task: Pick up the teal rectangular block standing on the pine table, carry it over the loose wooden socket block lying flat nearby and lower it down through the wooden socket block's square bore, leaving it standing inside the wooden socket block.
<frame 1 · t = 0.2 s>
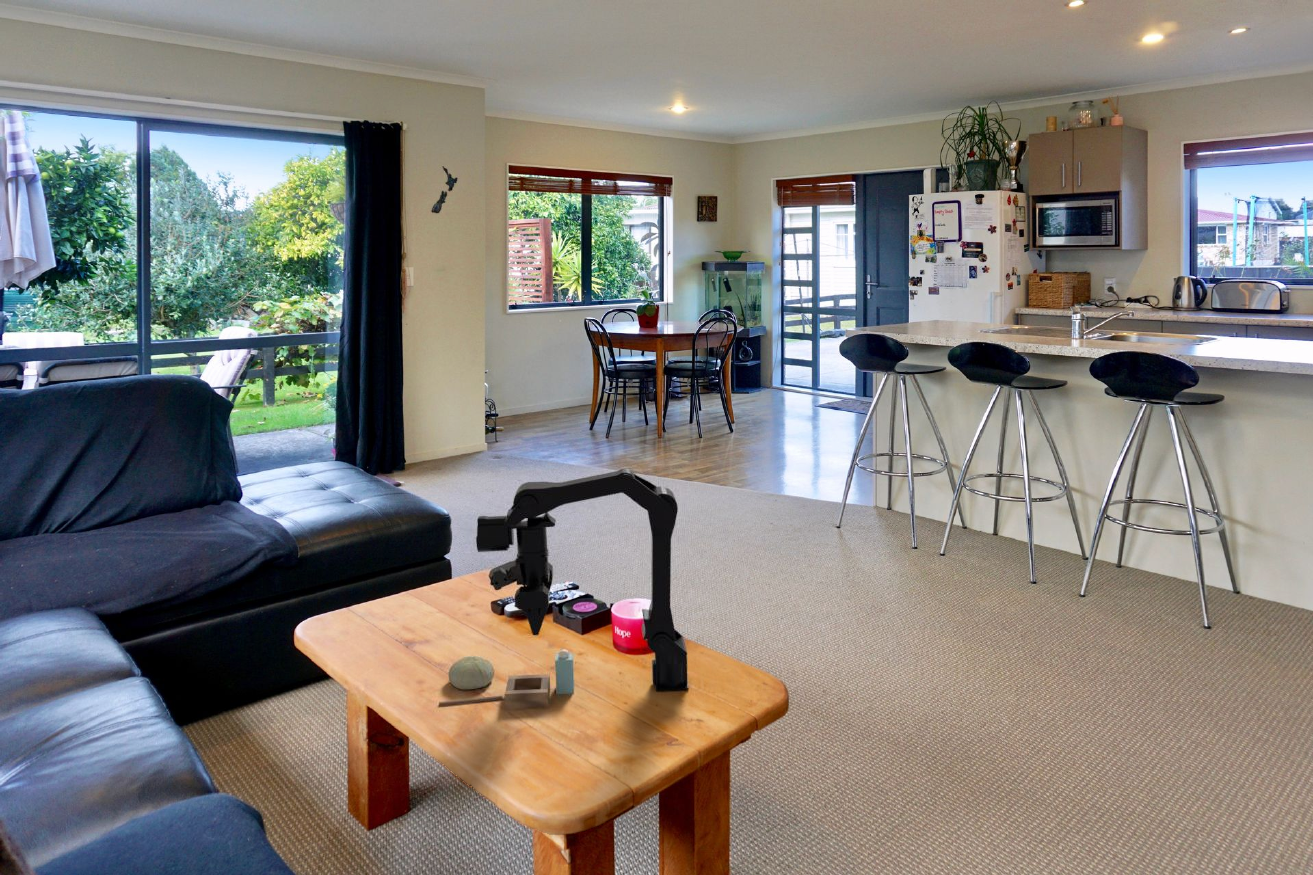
hand: (537, 625, 183), 13 cm above the table, fingers open, 9 cm apart
brown wooden rod: (471, 701, 181), on the table
sea urchin shell: (472, 683, 190), on the table
teal rectangular block: (565, 689, 185), on the table
wooden socket block: (528, 699, 181), on the table
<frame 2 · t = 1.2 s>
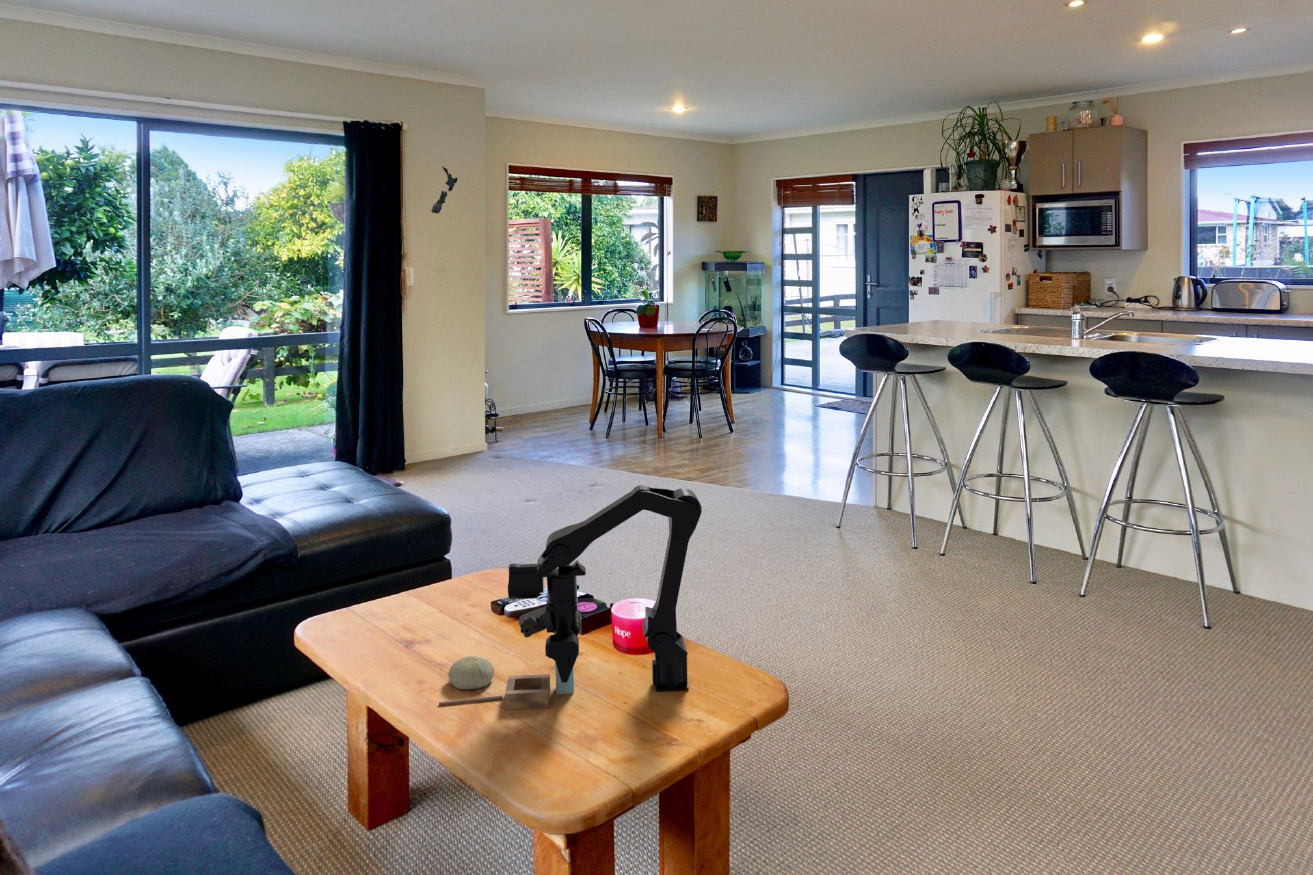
hand: (565, 672, 185), 4 cm above the table, fingers open, 9 cm apart
nothing on the table moved.
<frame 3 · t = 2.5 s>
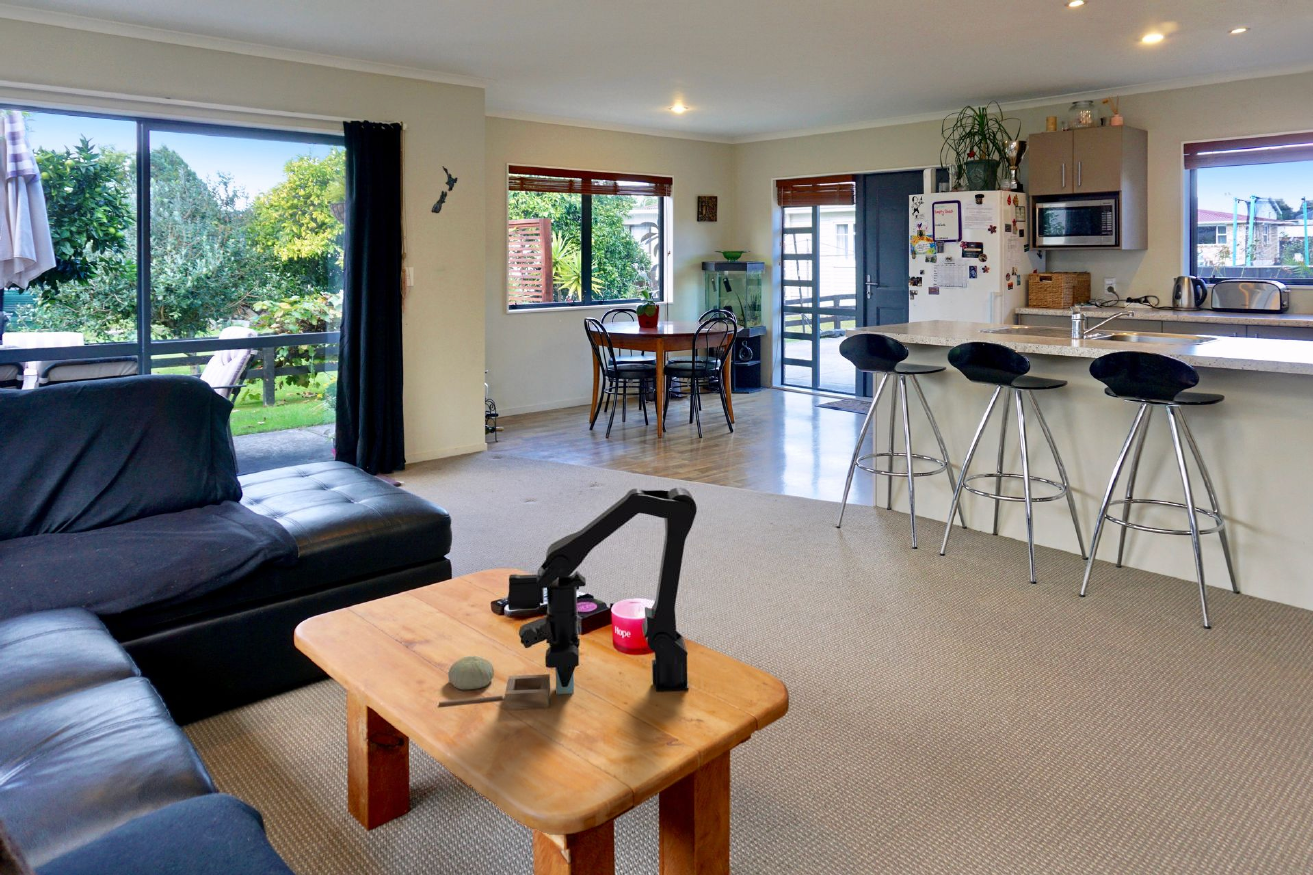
hand: (565, 682, 185), 2 cm above the table, fingers closed on teal rectangular block, 3 cm apart
teal rectangular block: (565, 689, 185), on the table, touching gripper
everything else where it was.
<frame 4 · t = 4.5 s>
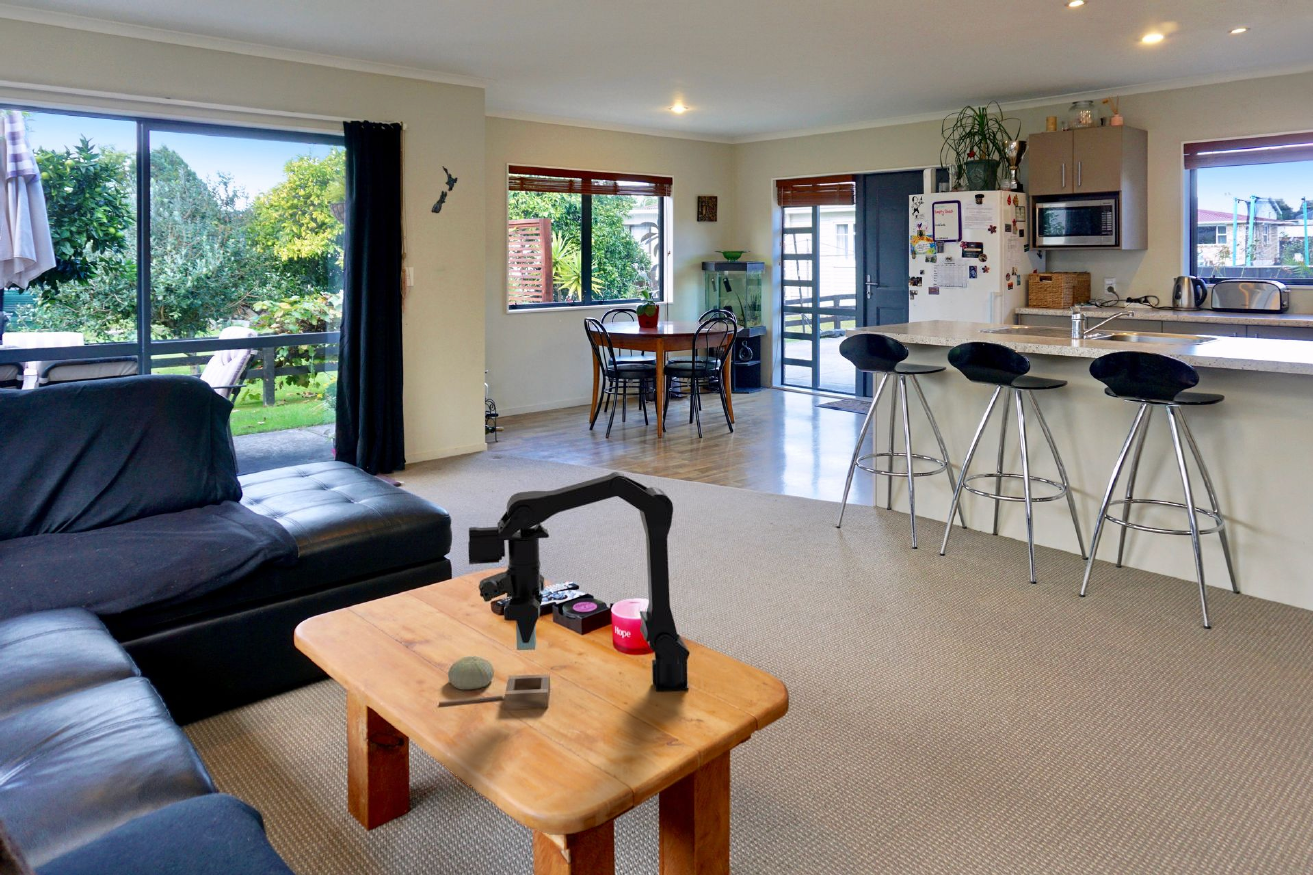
hand: (526, 638, 179), 12 cm above the table, fingers closed on teal rectangular block, 3 cm apart
teal rectangular block: (526, 646, 180), point 11 cm above the table, touching gripper
everything else where it was.
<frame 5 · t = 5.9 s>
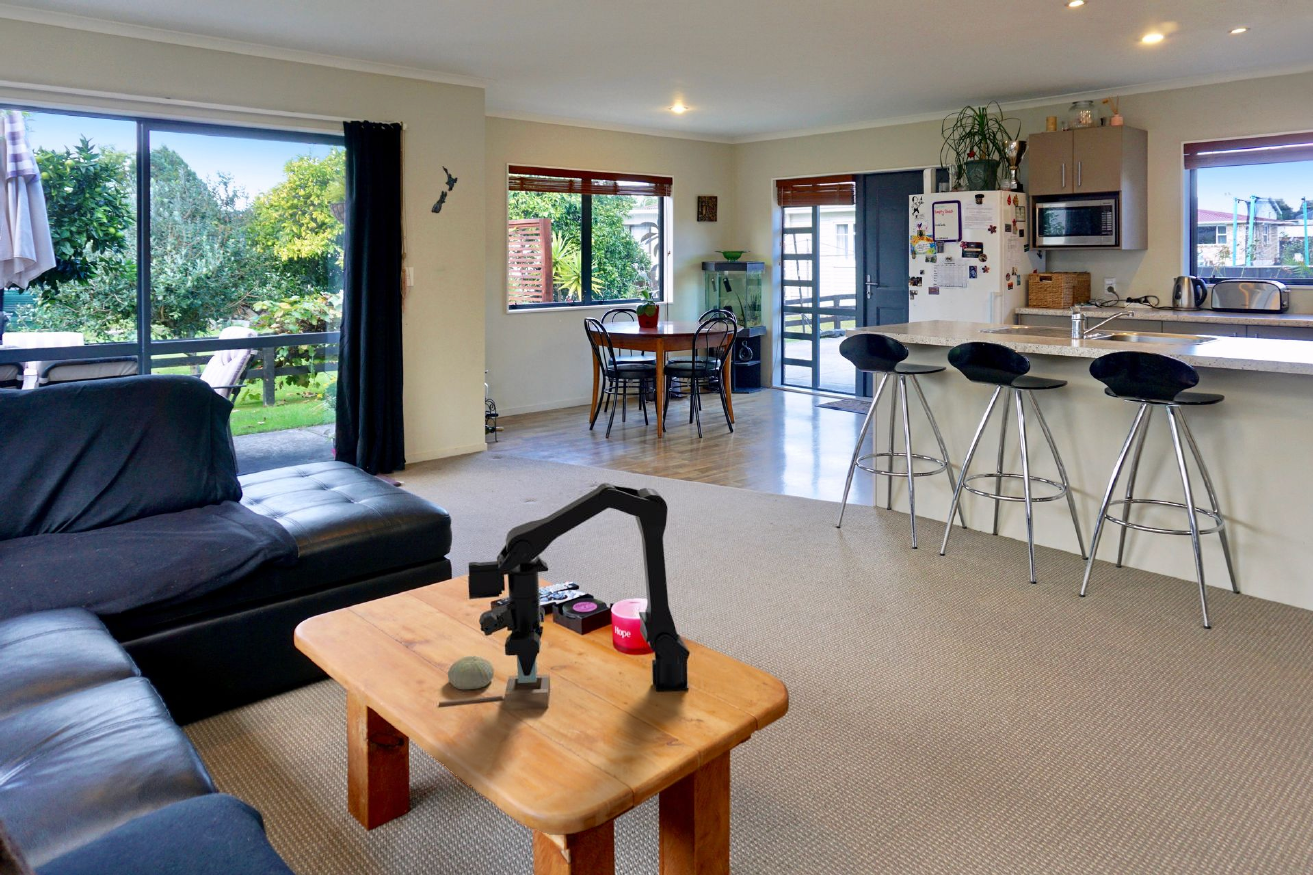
hand: (527, 671, 180), 6 cm above the table, fingers closed on teal rectangular block, 3 cm apart
teal rectangular block: (527, 678, 181), point 4 cm above the table, touching gripper
everything else where it was.
when the fingers open (4 cm above the table, at t = 6.8 s): teal rectangular block drops 2 cm, resting in wooden socket block.
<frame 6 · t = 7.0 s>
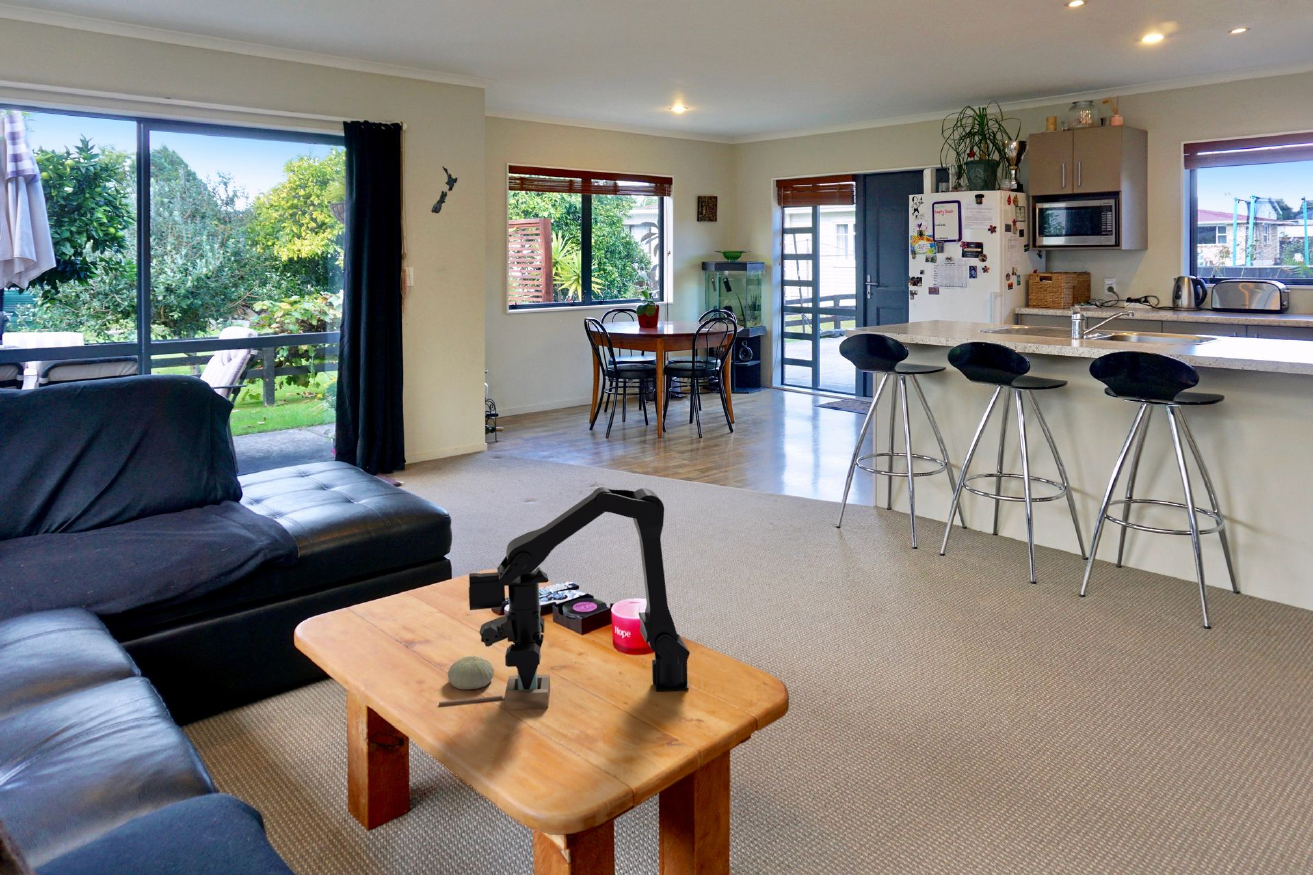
hand: (527, 681, 181), 4 cm above the table, fingers open, 6 cm apart
teal rectangular block: (528, 699, 181), resting in wooden socket block
everything else where it was.
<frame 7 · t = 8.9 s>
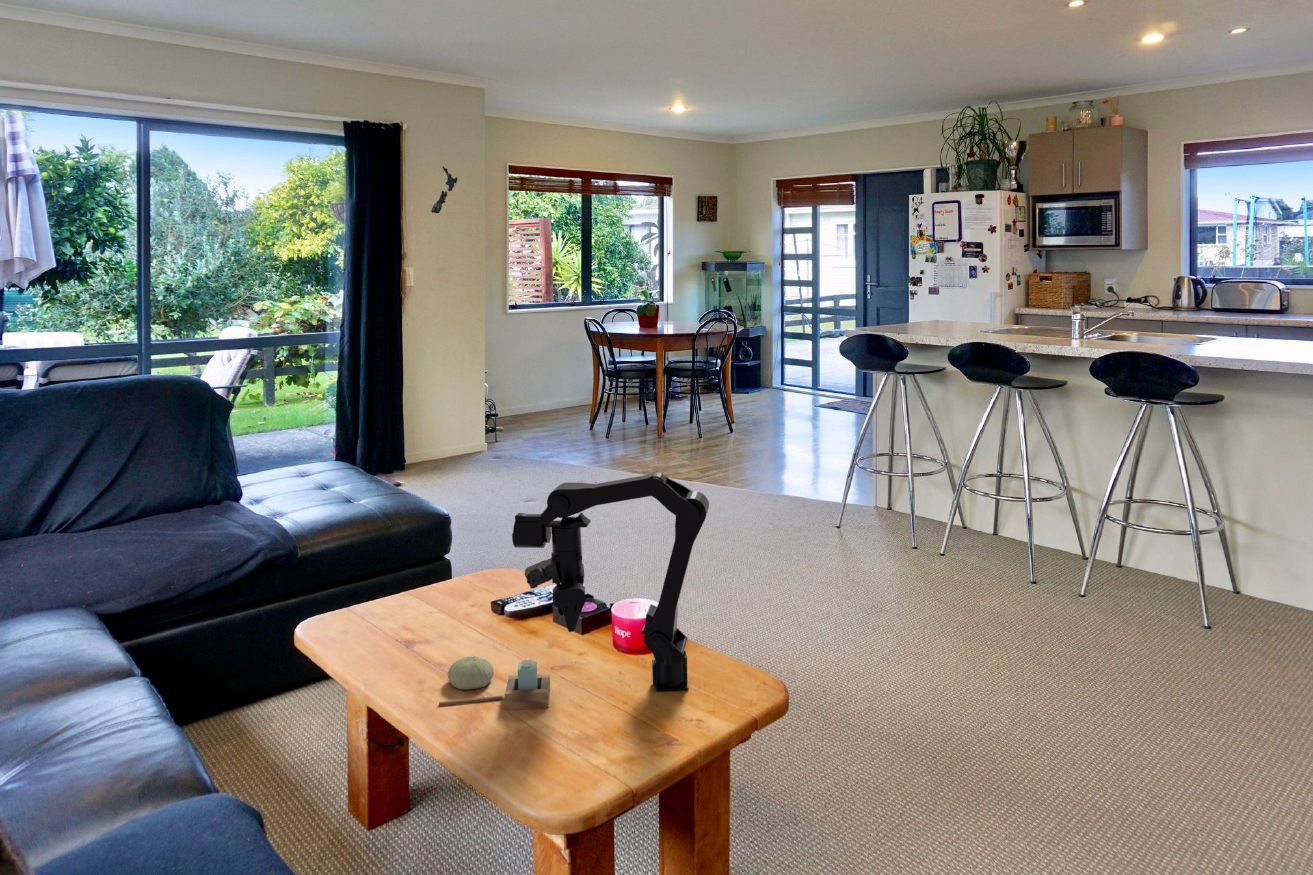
hand: (571, 622, 188), 12 cm above the table, fingers open, 9 cm apart
nothing on the table moved.
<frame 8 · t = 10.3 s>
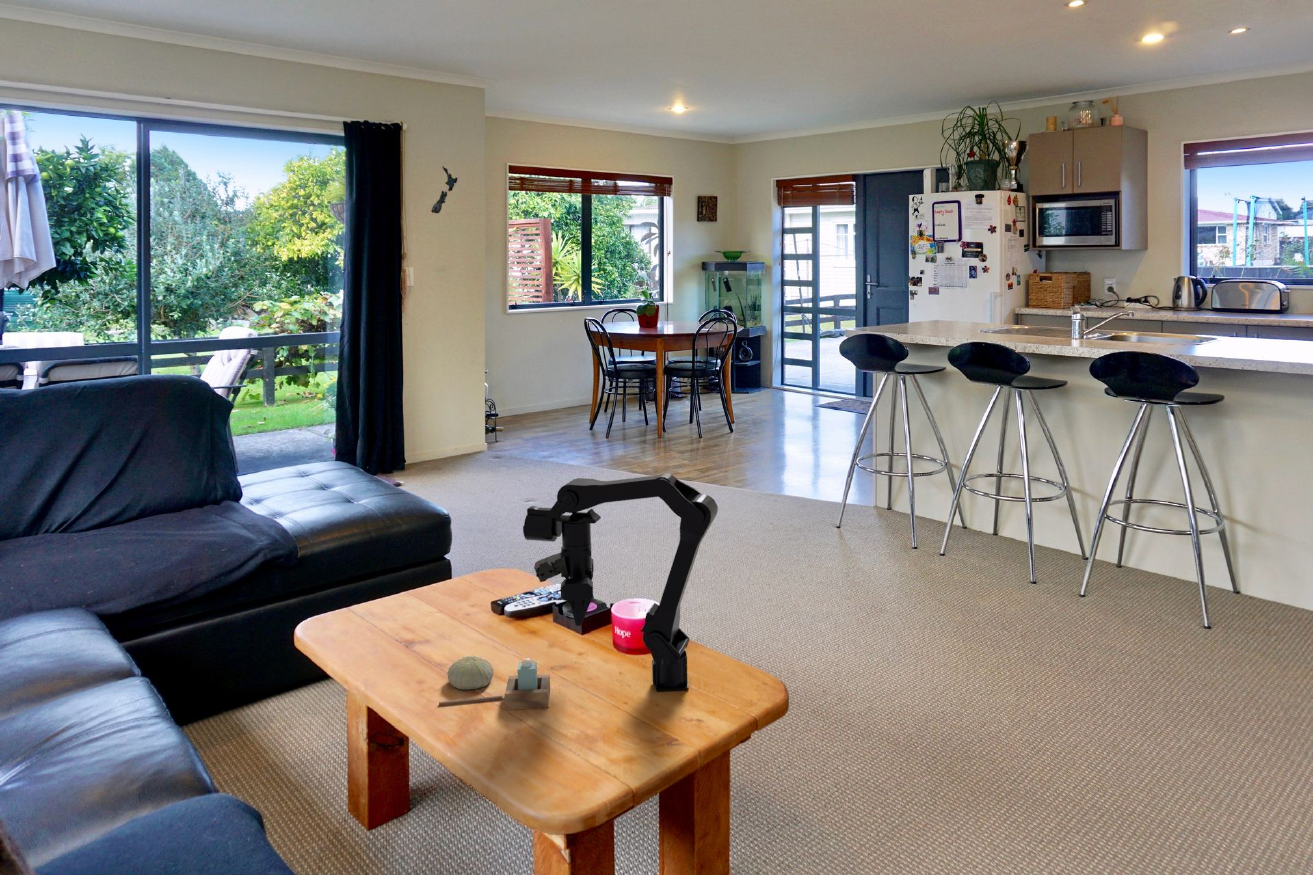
hand: (579, 616, 189), 13 cm above the table, fingers open, 9 cm apart
nothing on the table moved.
at the end: teal rectangular block 0.0 cm off-centre on the wooden socket block, point 0.0 cm above the wooden socket block's base; teal rectangular block tilted 0°; the gripper is holding nothing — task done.
